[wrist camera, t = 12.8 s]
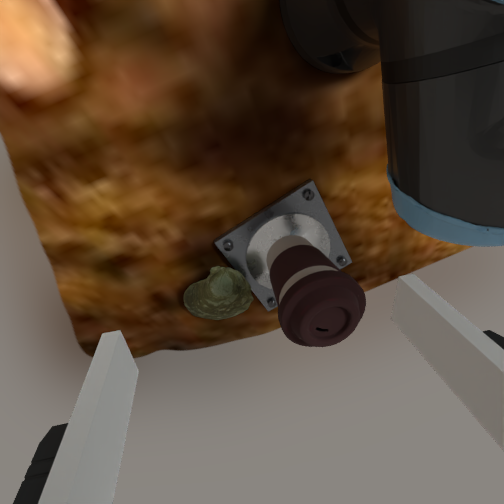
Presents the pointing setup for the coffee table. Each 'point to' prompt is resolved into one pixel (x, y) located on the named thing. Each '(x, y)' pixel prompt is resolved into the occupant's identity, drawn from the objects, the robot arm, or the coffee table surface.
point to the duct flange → (278, 226)
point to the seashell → (219, 295)
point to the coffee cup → (312, 294)
